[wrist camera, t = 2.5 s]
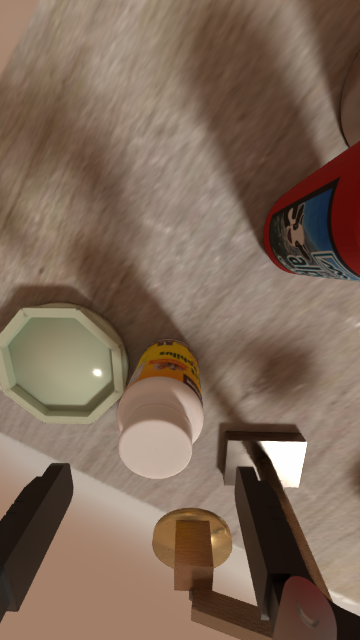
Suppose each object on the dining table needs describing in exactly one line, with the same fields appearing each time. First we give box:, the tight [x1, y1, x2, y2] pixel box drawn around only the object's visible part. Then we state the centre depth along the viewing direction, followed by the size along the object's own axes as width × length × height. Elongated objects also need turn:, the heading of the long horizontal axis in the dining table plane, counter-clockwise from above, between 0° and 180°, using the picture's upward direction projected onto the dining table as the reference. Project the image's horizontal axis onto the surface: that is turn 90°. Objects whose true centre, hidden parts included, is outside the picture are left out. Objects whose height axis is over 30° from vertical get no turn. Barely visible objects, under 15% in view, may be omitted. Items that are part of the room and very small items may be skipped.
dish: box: [0, 302, 129, 424], centre depth 20 cm, size 12×12×2 cm
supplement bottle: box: [117, 339, 204, 479], centre depth 16 cm, size 6×6×10 cm
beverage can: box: [263, 141, 360, 282], centre depth 12 cm, size 7×7×12 cm
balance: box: [152, 432, 333, 640], centre depth 17 cm, size 22×6×15 cm, turn 90°
